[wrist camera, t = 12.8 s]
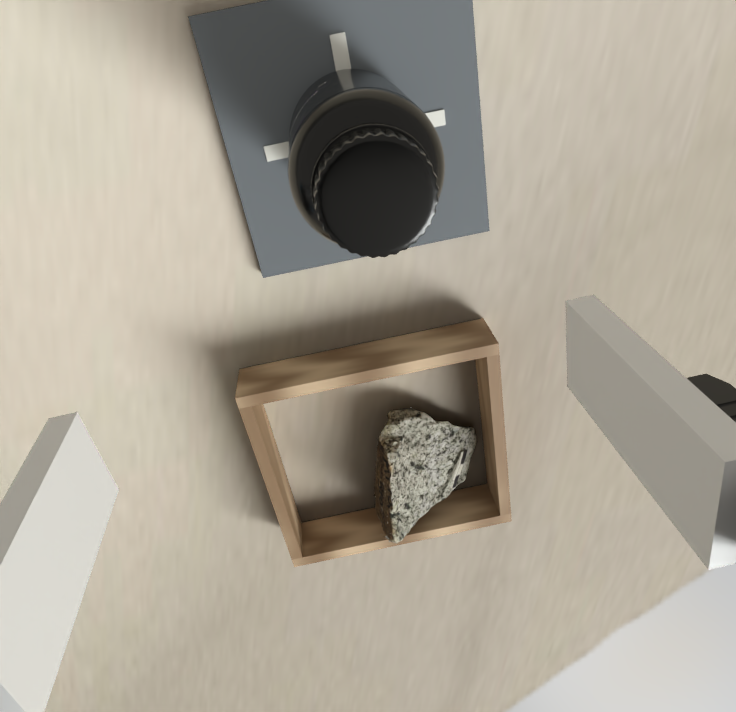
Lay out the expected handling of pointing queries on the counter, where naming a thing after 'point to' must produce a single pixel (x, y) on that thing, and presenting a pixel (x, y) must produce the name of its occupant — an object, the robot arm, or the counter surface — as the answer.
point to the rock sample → (417, 467)
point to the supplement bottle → (364, 163)
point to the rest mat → (316, 59)
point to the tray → (364, 366)
